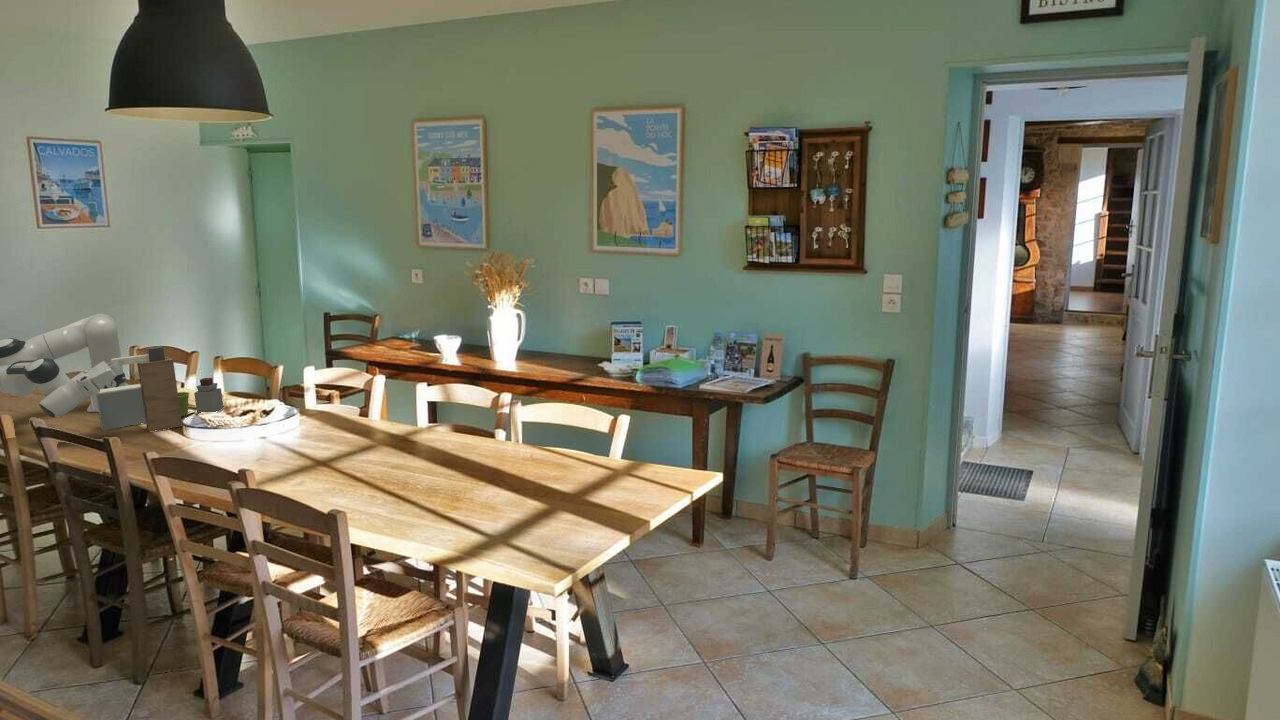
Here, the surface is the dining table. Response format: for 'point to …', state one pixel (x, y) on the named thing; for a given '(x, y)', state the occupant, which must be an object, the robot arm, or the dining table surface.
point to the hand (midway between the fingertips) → (121, 360)
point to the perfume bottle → (208, 396)
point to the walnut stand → (159, 394)
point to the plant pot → (183, 402)
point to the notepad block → (120, 406)
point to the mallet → (144, 356)
